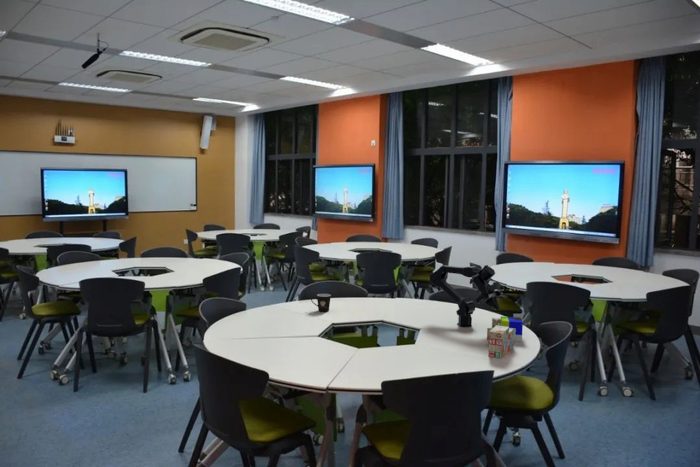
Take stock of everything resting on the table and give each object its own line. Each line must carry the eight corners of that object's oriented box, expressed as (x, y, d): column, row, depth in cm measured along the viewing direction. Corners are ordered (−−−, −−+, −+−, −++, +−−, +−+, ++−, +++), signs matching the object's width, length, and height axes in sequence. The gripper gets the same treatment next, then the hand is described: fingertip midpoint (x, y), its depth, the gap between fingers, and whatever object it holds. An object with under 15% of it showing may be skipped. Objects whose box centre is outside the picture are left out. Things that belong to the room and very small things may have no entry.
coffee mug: (333, 310, 328) (333, 294, 328) (325, 313, 321) (325, 297, 320) (318, 308, 335) (318, 292, 334) (310, 310, 327) (310, 294, 327)
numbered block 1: (496, 331, 286) (496, 320, 286) (491, 328, 291) (492, 317, 291) (504, 331, 287) (505, 319, 287) (500, 328, 292) (500, 317, 292)
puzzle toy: (521, 341, 268) (522, 322, 267) (501, 340, 270) (502, 321, 269) (519, 336, 278) (520, 317, 277) (500, 334, 280) (500, 316, 279)
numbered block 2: (491, 342, 265) (492, 330, 265) (486, 339, 271) (487, 327, 270) (500, 342, 266) (501, 329, 266) (495, 339, 271) (496, 327, 271)
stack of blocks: (500, 345, 262) (501, 320, 260) (513, 347, 258) (514, 322, 257) (488, 356, 243) (489, 330, 242) (501, 359, 240) (502, 332, 239)
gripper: (481, 279, 277) (499, 303, 270) (500, 275, 289) (518, 298, 282) (468, 291, 283) (485, 315, 276) (487, 287, 296) (504, 310, 289)
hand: (498, 309), depth 281 cm, fingers closed
